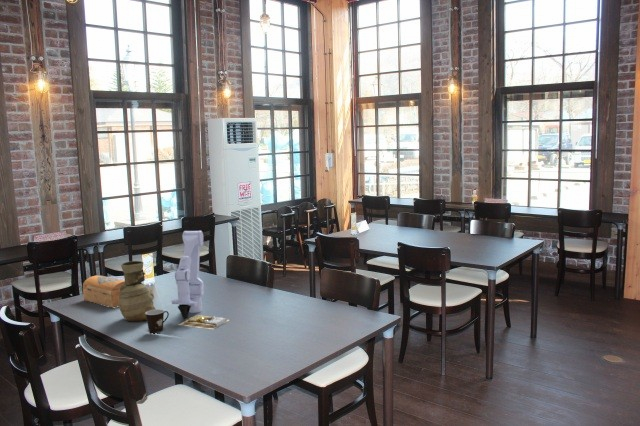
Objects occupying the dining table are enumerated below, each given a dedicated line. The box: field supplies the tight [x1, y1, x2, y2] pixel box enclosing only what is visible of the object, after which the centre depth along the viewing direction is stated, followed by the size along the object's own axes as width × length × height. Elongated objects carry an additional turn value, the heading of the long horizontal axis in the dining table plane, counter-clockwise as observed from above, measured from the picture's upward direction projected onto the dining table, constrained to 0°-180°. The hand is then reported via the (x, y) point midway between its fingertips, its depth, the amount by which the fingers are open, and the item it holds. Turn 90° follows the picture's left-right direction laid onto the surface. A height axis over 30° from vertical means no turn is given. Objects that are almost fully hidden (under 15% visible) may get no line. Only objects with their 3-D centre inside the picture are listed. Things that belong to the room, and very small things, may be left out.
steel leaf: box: [204, 316, 226, 328], centre depth 288 cm, size 7×8×2 cm
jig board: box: [177, 315, 230, 330], centre depth 291 cm, size 21×15×2 cm
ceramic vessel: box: [118, 260, 156, 323], centre depth 303 cm, size 19×21×30 cm
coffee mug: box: [145, 308, 170, 335], centre depth 282 cm, size 12×9×10 cm
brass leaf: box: [186, 314, 206, 323], centre depth 292 cm, size 7×8×2 cm
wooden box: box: [82, 274, 125, 308], centre depth 337 cm, size 30×16×14 cm, turn 52°
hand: (185, 318), depth 295 cm, fingers closed
